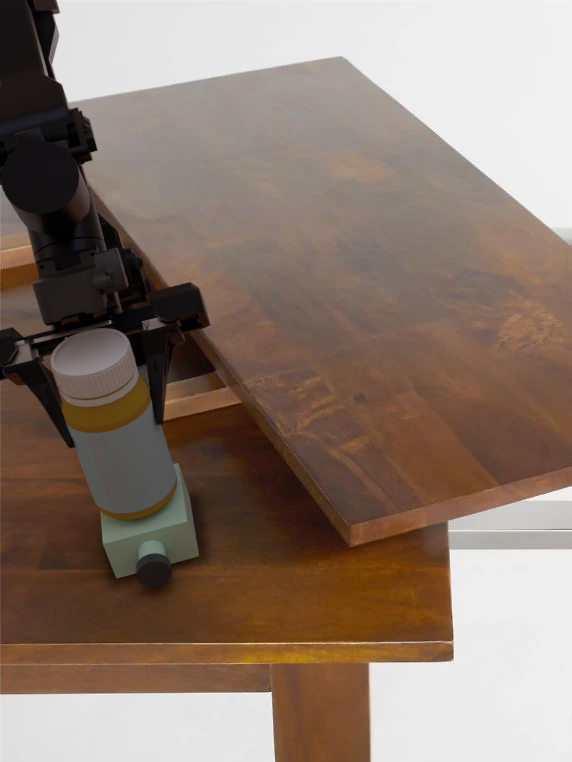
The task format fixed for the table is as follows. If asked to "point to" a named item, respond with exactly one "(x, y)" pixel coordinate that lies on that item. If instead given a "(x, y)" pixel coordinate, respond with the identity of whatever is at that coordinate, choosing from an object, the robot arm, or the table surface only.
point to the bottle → (113, 424)
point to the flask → (152, 539)
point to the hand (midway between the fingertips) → (115, 436)
